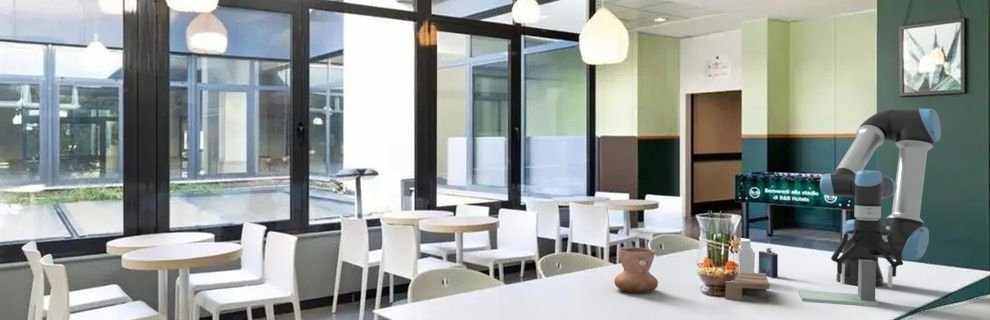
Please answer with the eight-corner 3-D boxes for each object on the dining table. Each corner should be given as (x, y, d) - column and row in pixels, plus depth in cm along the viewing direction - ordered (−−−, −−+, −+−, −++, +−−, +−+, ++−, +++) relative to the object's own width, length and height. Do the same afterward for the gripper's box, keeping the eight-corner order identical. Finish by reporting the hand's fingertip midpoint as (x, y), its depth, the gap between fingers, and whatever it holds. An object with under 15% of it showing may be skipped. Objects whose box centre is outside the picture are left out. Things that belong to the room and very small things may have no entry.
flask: (756, 274, 272) (757, 246, 271) (762, 273, 273) (763, 245, 272) (773, 278, 263) (774, 249, 263) (780, 278, 264) (780, 249, 264)
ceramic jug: (664, 296, 230) (665, 253, 230) (620, 296, 230) (621, 252, 230) (649, 286, 248) (650, 245, 248) (608, 285, 248) (609, 245, 248)
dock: (725, 286, 247) (726, 270, 247) (765, 289, 243) (766, 273, 243) (725, 298, 228) (725, 281, 228) (768, 301, 224) (768, 284, 224)
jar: (730, 283, 253) (731, 241, 253) (716, 278, 262) (717, 237, 262) (759, 282, 256) (760, 240, 255) (744, 277, 265) (745, 237, 265)
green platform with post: (798, 293, 238) (799, 254, 238) (871, 298, 231) (872, 258, 231) (802, 301, 226) (803, 260, 226) (879, 307, 219) (880, 265, 219)
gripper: (826, 218, 226) (824, 284, 226) (914, 221, 218) (912, 290, 218) (823, 216, 233) (821, 280, 233) (909, 219, 225) (907, 285, 225)
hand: (865, 285), depth 226 cm, fingers open, 13 cm apart
